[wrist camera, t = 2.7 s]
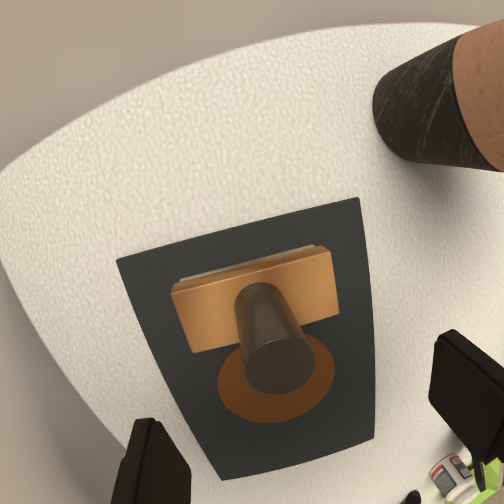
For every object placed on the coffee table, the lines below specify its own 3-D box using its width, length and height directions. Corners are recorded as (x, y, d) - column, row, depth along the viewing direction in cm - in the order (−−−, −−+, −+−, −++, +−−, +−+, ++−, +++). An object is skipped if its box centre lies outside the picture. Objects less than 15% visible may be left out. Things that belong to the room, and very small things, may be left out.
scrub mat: (221, 478, 25) (221, 481, 25) (117, 258, 19) (115, 260, 18) (372, 435, 26) (374, 438, 25) (356, 197, 19) (359, 197, 19)
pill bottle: (428, 479, 32) (452, 515, 24) (428, 468, 31) (454, 507, 22) (455, 461, 32) (480, 495, 24) (457, 448, 31) (485, 484, 22)
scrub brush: (194, 331, 20) (187, 426, 12) (175, 276, 19) (150, 353, 10) (324, 296, 21) (387, 369, 12) (315, 240, 19) (384, 290, 11)
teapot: (445, 471, 32) (479, 520, 20) (502, 428, 33) (539, 468, 21) (432, 508, 38) (454, 546, 26) (481, 476, 38) (506, 509, 26)
